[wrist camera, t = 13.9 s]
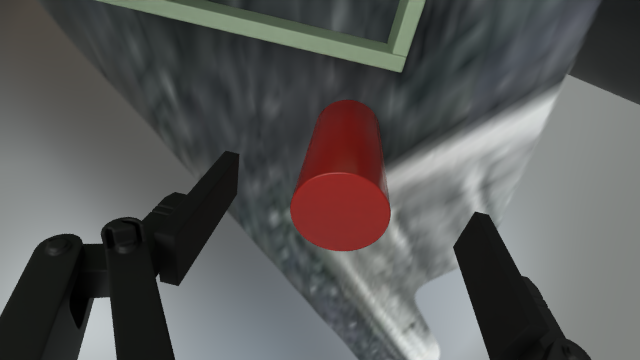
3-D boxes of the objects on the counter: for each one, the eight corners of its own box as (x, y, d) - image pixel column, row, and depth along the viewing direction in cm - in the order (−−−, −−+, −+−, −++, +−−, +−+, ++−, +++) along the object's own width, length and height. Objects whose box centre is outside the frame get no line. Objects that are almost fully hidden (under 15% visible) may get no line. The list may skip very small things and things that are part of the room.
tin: (386, 104, 25) (405, 186, 14) (368, 159, 27) (373, 260, 17) (323, 89, 24) (298, 161, 14) (311, 146, 27) (283, 240, 17)
